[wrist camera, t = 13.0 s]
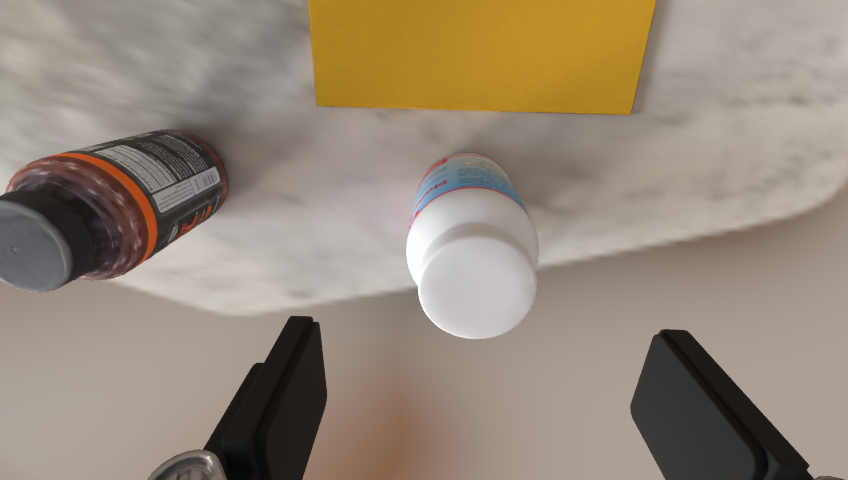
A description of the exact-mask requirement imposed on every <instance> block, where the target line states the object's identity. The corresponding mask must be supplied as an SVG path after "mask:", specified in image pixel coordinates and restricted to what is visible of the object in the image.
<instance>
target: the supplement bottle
mask: <svg viewBox="0 0 848 480" xmlns="http://www.w3.org/2000/svg"><path fill="white" fill-rule="evenodd" d="M227 190H228V182H227V176H226V173H225V169H224V166H223V165H222V163H221V160H220V159H219V157H218V156H217V154H216V153H215V152H214V151H213V150H212V149H211V148H210V147H209V146H208V145H207V144H206V143H204V142H203V141H202V140H200V139H199V138H197V137H195V136H193V135H191V134H189V133H186V132H183V131H177V130H160V131H153V132H148V133H144V134H140V135H136V136H131V137H127V138H123V139H119V140H114V141H110V142H106V143H102V144H98V145H94V146H90V147H85V148H81V149H77V150H73V151H68V152H65V153H61V154H57V155H53V156H49V157H45V158H42V159H39V160H37V161H34V162H31V163H29V164H27V165H26V166H24V167H23V168H21V169H20V170H19V171H18V172H16V173H15V175H14V176H13V177H12V178H11V180H10V181H9V184H8V186H7V188H6V192H5V194H3V195H1V196H0V280H1V281H3V282H5V283H7V284H9V285H11V286H13V287H16V288H18V289H21V290H25V291H30V292H48V291H52V290H55V289H58V288H60V287H62V286H63V285H65V284H67V283H69V282H71V281H72V280H76V279H84V280H107V279H111V278H115V277H118V276H120V275H124V274H125V273H127V272H128V271H130V270H132V269H133V268H135V267H136V266H138V265H139V264H141V263H143V262H144V261H145V260H147V259H149V258H151V257H152V256H153V255H155V254H156V253H158V252H159V251H161V250H162V249H164V248H165V247H167V246H168V245H169V244H171V243H172V242H174V241H175V240H177V239H178V238H179V237H181V236H182V235H184V234H186V233H187V232H189V231H190V230H191V229H193V228H195V227H196V226H197V225H199V224H201V223H202V222H204V221H206V220H207V219H208V218H210V217H211V216H212V215H213V214H214V213H215V212H216V211H217V210H218V209H219V208H220V207H221V206H222V204H223V202H224V200H225V198H226V195H227Z"/></svg>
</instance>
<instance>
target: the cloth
mask: <svg viewBox="0 0 848 480" xmlns="http://www.w3.org/2000/svg"><path fill="white" fill-rule="evenodd" d="M308 5H309V17H310V29H311V41H312V53H313V65H314V77H315V89H316V101H317V106H336V107H371V108H405V109H440V110H475V111H509V112H544V113H579V114H613V115H630V114H631V111H632V106H633V102H634V97H635V93H636V88H637V84H638V80H639V75H640V71H641V66H642V62H643V58H644V53H645V49H646V44H647V40H648V36H649V31H650V27H651V22H652V18H653V13H654V9H655V5H656V0H308Z"/></svg>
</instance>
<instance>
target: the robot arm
mask: <svg viewBox="0 0 848 480" xmlns="http://www.w3.org/2000/svg"><path fill="white" fill-rule="evenodd" d="M326 401H327V388H326V379H325V369H324V361H323V352H322V342H321V333H320V325H319V322H313V318H312V317H309V316H291V317H290V318H289V319H288V321H287V323H286V325H285V326H284V328H283V330H282V332H281V334H280V335H279V337H278V339H277V341H276V342H275V344H274V346H273V348H272V350H271V351H270V353H269V355H268V357H267V359H266V360H265V362H264V363H256V364H254V365H253V367H252V368H251V370H250V371H249V373H248V374H247V376H246V378H245V380H244V381H243V383H242V385H241V386H240V388H239V390H238V391H237V393H236V395H235V396H234V398H233V400H232V401H231V403H230V405H229V406H228V409H227V410H226V412H225V413H224V415H223V417H222V418H221V420H220V422H219V423H218V425H217V427H216V428H215V430H214V432H213V434H212V435H211V437H210V439H209V440H208V442H207V444H206V445H205V447H204V449H203V450H193V451H187V452H184V453H181V454H179V455H176V456H174V457H172V458H171V459H169V460H167V461H166V462H164V463H163V464H162V465H160V466H159V467H158V468H157V469H156V470H155V471H154V472H153V473H152V474H151V476H150V477H149V478H148V479H147V480H302V479H303V475H304V472H305V469H306V466H307V463H308V459H309V456H310V453H311V450H312V447H313V444H314V441H315V437H316V434H317V431H318V428H319V425H320V422H321V418H322V415H323V412H324V409H325V406H326ZM630 409H631V415H632V418H633V420H634V422H635V424H636V426H637V427H638V429H639V431H640V433H641V435H642V437H643V439H644V440H645V442H646V444H647V446H648V448H649V450H650V452H651V454H652V455H653V457H654V459H655V461H656V463H657V465H658V466H659V468H660V470H661V472H662V474H663V476H664V478H665V480H844V479H840V478H835V477H831V476H819V477H817V478H815V479H814V478H813V477H812V476H811V475H810V474H809V473H808V471H807V469H808V467H809V465H808V463H807V462H806V461H805V460H804V459H803V458H802V456H801V455H800V454H799V453H798V452H797V451H796V450H795V449H794V448H793V447H792V445H790V443H789V442H788V441H787V440H786V439H785V438H784V437H783V436H782V435H781V434H780V432H779V431H778V430H777V429H776V428H775V427H774V426H773V425H772V423H771V422H770V421H769V420H768V419H767V418H766V417H765V416H764V415H763V413H761V411H760V410H759V409H758V408H757V407H756V406H755V405H754V404H753V403H752V401H751V400H750V399H749V398H748V397H747V396H746V395H745V394H744V393H743V391H742V390H741V389H740V388H739V387H738V386H737V385H736V384H735V383H734V382H733V380H732V379H731V378H730V377H729V376H728V375H727V374H726V373H725V372H724V370H722V368H721V367H720V366H719V365H718V364H717V363H716V362H715V361H714V359H713V358H712V357H711V356H710V355H709V354H708V353H707V352H706V351H705V350H704V348H703V347H702V346H701V345H700V344H699V343H698V342H697V341H696V340H695V338H694V337H693V336H692V335H691V334H690V333H689V332H688V331H685V330H669V329H667V330H666V329H664V330H661V331H660V332H659V334H657V335H655V336H654V337H653V339H652V342H651V345H650V348H649V351H648V354H647V357H646V360H645V363H644V366H643V369H642V372H641V375H640V378H639V381H638V384H637V387H636V390H635V393H634V396H633V399H632V402H631V406H630Z"/></svg>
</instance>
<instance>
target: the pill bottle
mask: <svg viewBox="0 0 848 480" xmlns="http://www.w3.org/2000/svg"><path fill="white" fill-rule="evenodd" d="M406 253H407V261H408V266H409V270H410V272H411V275H412V277H413V279H414V280H415V282H416V283H417V285H418V293H419V298H420V302H421V305H422V307H423V309H424V311H425V313H426V314H427V316H428V317H429V318H430V319H431V321H432V322H434V324H436V325H437V326H438V327H440V328H441V329H443V330H444V331H446V332H448V333H451V334H453V335H455V336H459V337H463V338H470V339H483V338H490V337H494V336H497V335H500V334H503V333H505V332H508V331H509V330H511V329H513V328H514V327H515V326H517V325H518V324H519V323H520V322H521V321H523V319H524V318H525V317H526V316H527V315H528V313H529V312H530V310H531V308H532V306H533V304H534V302H535V298H536V293H537V279H536V273H535V269H536V266H537V262H538V256H539V244H538V237H537V233H536V231H535V228H534V226H533V223H532V221H531V219H530V217H529V215H528V213H527V211H526V209H525V207H524V206H523V204H522V202H521V200H520V198H519V196H518V194H517V192H516V190H515V188H514V186H513V184H512V183H511V181H510V179H509V177H508V175H507V174H506V172H505V171H504V170H503V169H502V168H501V167H500V166H499V165H498V164H497V163H496V162H494V161H493V160H491V159H489V158H487V157H484V156H482V155H478V154H470V153H461V154H454V155H450V156H447V157H444V158H442V159H440V160H438V161H437V162H435V163H434V164H433V165H432V166H431V167H430V168H429V169H428V170H427V171H426V172H425V173H424V175H423V177H422V178H421V180H420V183H419V185H418V189H417V192H416V197H415V202H414V207H413V213H412V218H411V223H410V228H409V233H408V239H407V251H406Z"/></svg>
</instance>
